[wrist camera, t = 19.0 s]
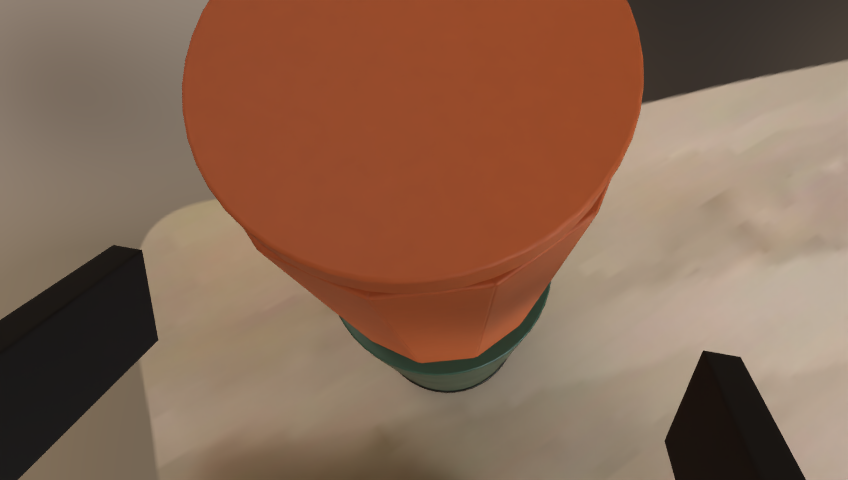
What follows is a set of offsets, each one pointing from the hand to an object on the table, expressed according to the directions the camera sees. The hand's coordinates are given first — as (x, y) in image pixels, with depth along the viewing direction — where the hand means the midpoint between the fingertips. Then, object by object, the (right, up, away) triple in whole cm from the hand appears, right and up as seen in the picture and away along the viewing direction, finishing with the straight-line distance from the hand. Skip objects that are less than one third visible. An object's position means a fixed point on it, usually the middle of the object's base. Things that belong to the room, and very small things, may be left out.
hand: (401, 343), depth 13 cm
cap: (+1, +2, +7) cm, 8 cm away
